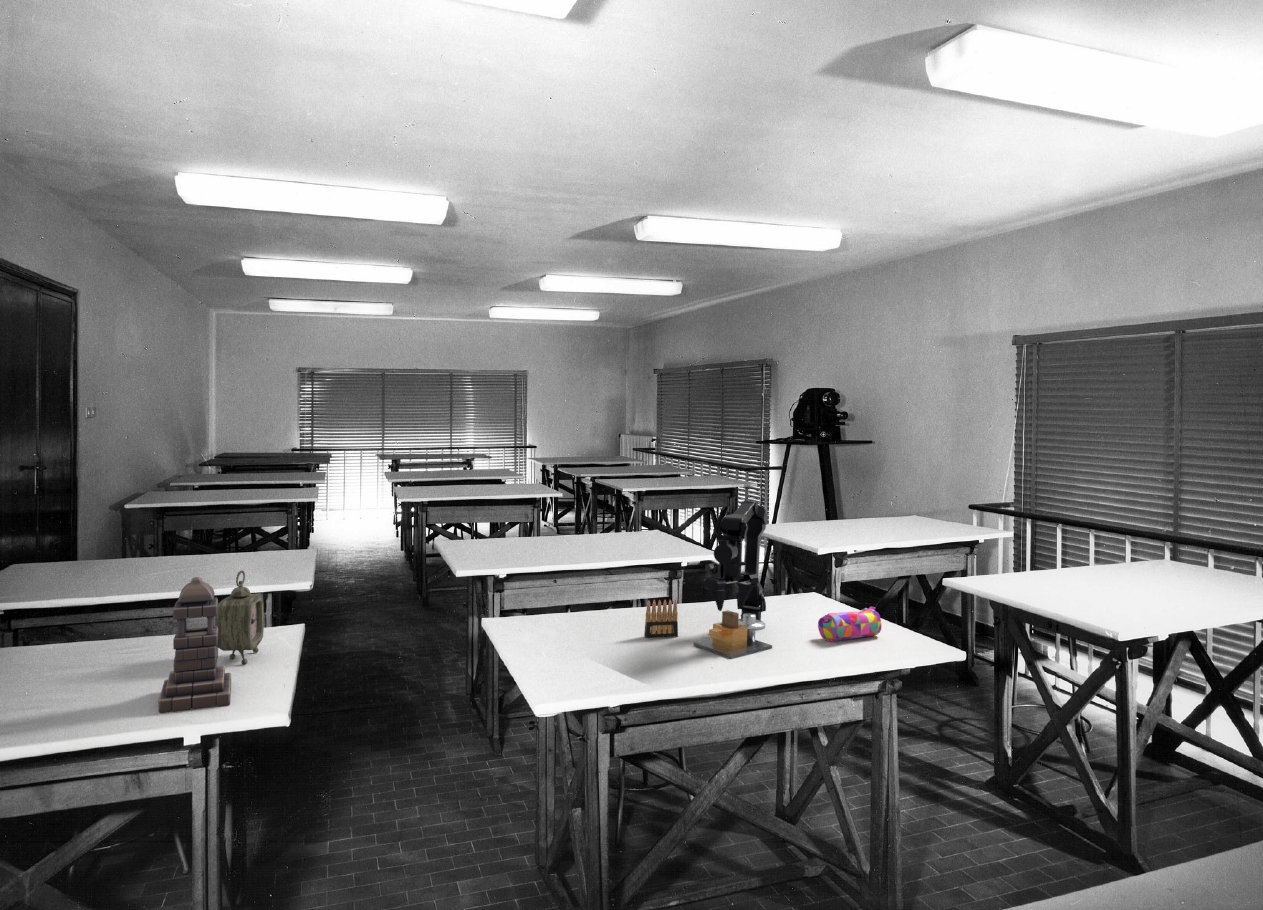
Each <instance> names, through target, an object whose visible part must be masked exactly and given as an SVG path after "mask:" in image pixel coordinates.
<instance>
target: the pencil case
mask: <svg viewBox="0 0 1263 910" xmlns="http://www.w3.org/2000/svg"><path fill="white" fill-rule="evenodd" d="M817 621H818V623H817V628H818V632H819V635H820V636H821V638H822V639H823V640H825V641H826V642H829V641H830V642H834V641H844V640H845V641H846V640H851V639H858V638H859V639H860V638H864V637H865V636H867V637H872V636H873V635H875V636H878V635H879V634H880V633H881V631H882V618H881V615H880V614H879V612H877V611H876V607H874V606H869V608H867V607H865V608H863V609H861V610H859V611H847V612H846V611H844V612H843V611H841V612H830V613H829V612H828V613H827V614H825V615H823V616H821V617H820V618H819V619H818V620H817ZM873 637H874V636H873ZM830 642H829V643H830Z"/></svg>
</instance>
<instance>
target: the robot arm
mask: <svg viewBox="0 0 1263 910" xmlns="http://www.w3.org/2000/svg"><path fill="white" fill-rule="evenodd" d="M768 522H769V515H768V513H767V510H766V509H765V508H763V507H762V506H761V505H759V504H758V502H757V501H754V500H743V501H741V502H740V505H739V507H738V508H737V509H736V510H735V511H734V512H733V513H732V514H727V515H725V516H723V517H722V519H721V521H720V523H719V526H718V531H717V533H716V534H717V535H716V541H720V544H718V545H717V546H715V547H714V550H713V556H714V559H715V561H716V562H717V563H718V565H714V564H713V563H708V564H705V567H704V572H705V575H706V576H708V577H705V579H704V580H703V588H706V590H708V591H710V592H711V594H712V595H713V598H714V601H715V605H716V608H717V611H719V612H722V611H723V607H724V603H725V597H726V594H727V589H725V588H726V587H727V585H733V584H736V586H737V588H738V591H737V594H736V604H737V605H736V606H737V610H741V614H740V619H743V614H745V613H751V614H755V615H756V620H760V621H762V613H763V612H766V611H767V602H766V599H765V596H764V593H763V591H764V590H763V586H762V585H761V583H760V581H759V580H760V579H759V569H760V549H761V536H762V535H763V533H764V532H765V530H766V528H767V525H768ZM745 539H746V541H745V542H746V543H745V560H744V561H742V560H743V559H742V558H743V541H744V540H745ZM743 566H744V571H742V567H743Z"/></svg>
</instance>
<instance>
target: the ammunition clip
mask: <svg viewBox="0 0 1263 910" xmlns="http://www.w3.org/2000/svg"><path fill="white" fill-rule="evenodd" d="M645 610H646V611H645V624H644V633H643V637H644V638H645V639H652V638H653V639H659V638H678V637H679V625H678V623H679V621H678V620H679V619H678V618H679V617H678V615H679V613H678V601H677V599H676V598H675V599H674V601H673V603H672V600H671V599H669V601H668V605H667V601H666V599H664V601H663V604H662V602H661V599H659V600H658V602H657V604H656V600H655V599H653V601H652V605H651V601H650V600H647V603H646V609H645Z"/></svg>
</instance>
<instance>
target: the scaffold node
mask: <svg viewBox="0 0 1263 910" xmlns="http://www.w3.org/2000/svg"><path fill="white" fill-rule="evenodd" d="M765 628H766V622H765V621H762V620H761V621H760V620H756V615H755V614H751V613H745V614H743V619H741V618H739V621H738V628H733V629H732V628H729V627H726V626H723V625H722V621H720V622H716V623H712V628H711V629H708V637H710V638H707V639H702V640H698V641H694V642H693V646H694V647H697V648H700V649H703V650H704V651H708V652H711V653H713V654H716V655H719V656H722V657H725V658H727V659H730V660H732V659H737V658H740V657H744V656H748V655H752V654H756V653H759V652H764V651H767V650H773V645H772V644H769V643H767V642H763V641H760V640H757V639H756V631H762V630H763V629H765Z"/></svg>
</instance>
